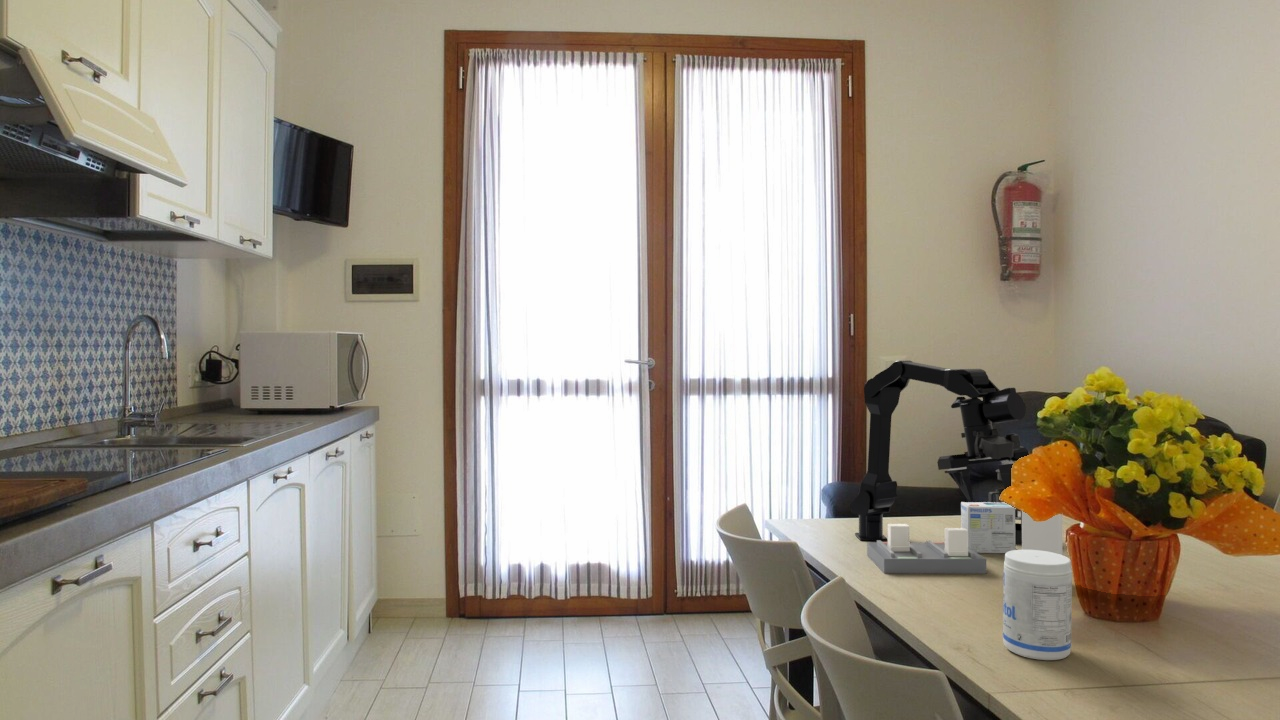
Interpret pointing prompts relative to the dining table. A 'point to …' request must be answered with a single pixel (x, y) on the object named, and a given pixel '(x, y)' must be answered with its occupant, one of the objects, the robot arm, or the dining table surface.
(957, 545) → the tall cream cuboid
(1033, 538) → the off-white cardboard box
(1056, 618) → the supplement tub
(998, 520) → the light bulb box
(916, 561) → the breaker panel
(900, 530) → the white block
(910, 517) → the dining table surface
